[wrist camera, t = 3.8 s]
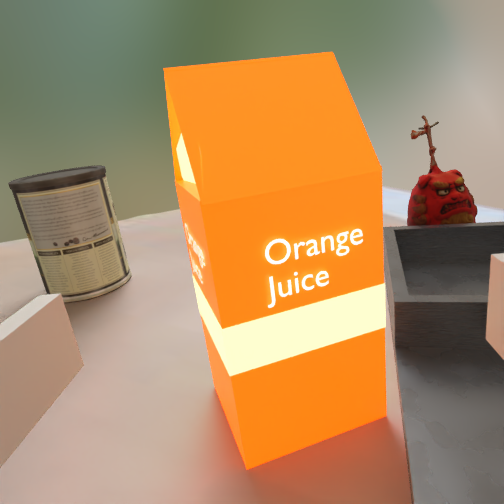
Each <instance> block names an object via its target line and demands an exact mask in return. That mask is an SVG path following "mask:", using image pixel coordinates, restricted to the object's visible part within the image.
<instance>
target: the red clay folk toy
mask: <svg viewBox="0 0 504 504" xmlns="http://www.w3.org/2000/svg"><path fill="white" fill-rule="evenodd" d="M422 118H423V119H424V120H425V125H424V128H423V127H422V128H419V129H422V130H423V129H424V131H418V132H416V131H414V130H412V133H411V138H412V139H416V138H417V137H418V136H420V135H423V134H427V138H428V142H429V147H430V149H429V153H430V156H431V163H430V170H429V173H428V175H422V176H420V177H419V181H418V183H417V184H416V186H415V187H414V189H413V190H412V192H411V197H410V200H409V205H408V219H407V225H408V226H423V225H445V224H466V223H476V222H475V217H476V215H477V207H476V205H475V204H474V198H473V196H472V195H471V194H470V193H469V190H468V188H467V187H466V186H465V184H464V179H463V178H462V174H461V173H460V172H459V171H457V170H450V171H448V172H442V171H441V170H440V169H439V168H438V166H437V163H436V161H435V158H434V153H435V150H436V148H435V147H434V146H432V139H431V129H430V128H431V127H433V126H435V125H436V124H438V123H439V122H436V123H435V124H433V125H432V126H430V125H428V121H427V119H426V117H425V116H422Z"/></svg>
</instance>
